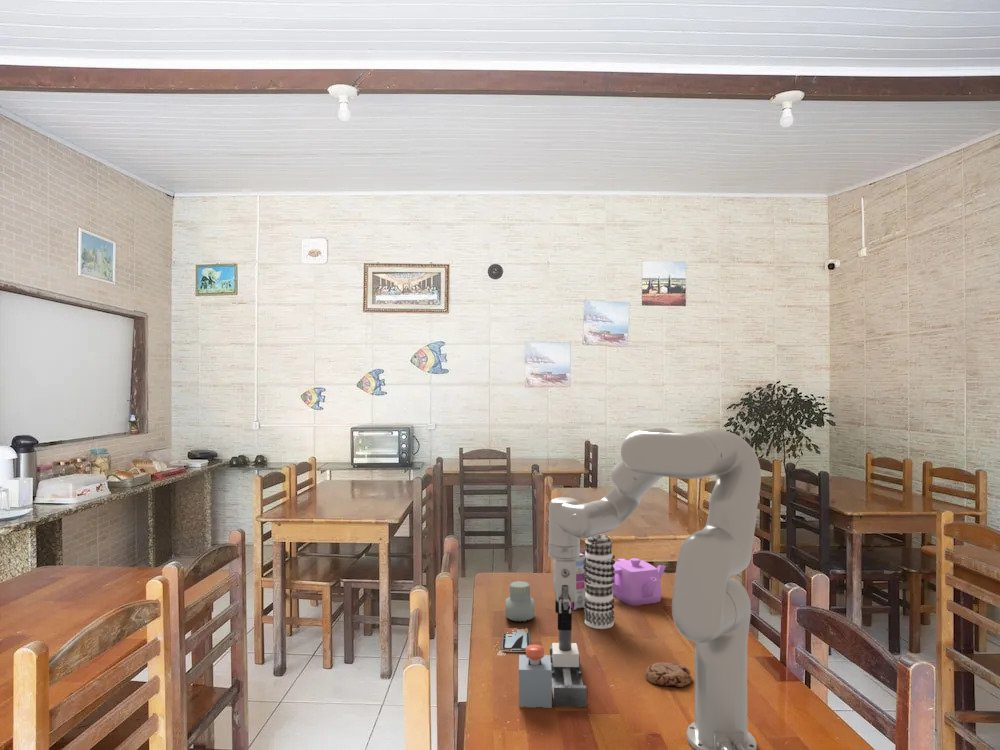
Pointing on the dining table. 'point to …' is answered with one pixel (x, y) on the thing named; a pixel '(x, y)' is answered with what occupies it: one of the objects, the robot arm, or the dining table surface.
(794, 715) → the dining table surface
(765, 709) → the dining table surface
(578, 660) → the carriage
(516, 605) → the air freshener
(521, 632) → the smartphone
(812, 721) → the dining table surface
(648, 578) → the teakettle
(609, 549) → the decorative candle
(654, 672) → the cookie
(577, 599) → the candy bar box
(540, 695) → the button housing
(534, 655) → the button
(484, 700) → the dining table surface
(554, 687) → the rail
